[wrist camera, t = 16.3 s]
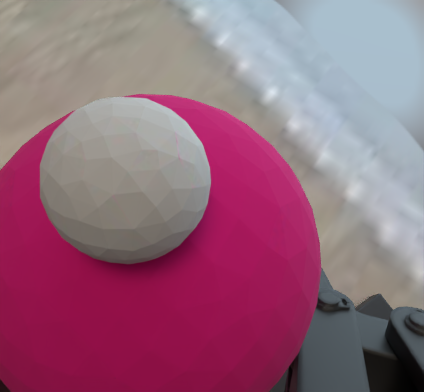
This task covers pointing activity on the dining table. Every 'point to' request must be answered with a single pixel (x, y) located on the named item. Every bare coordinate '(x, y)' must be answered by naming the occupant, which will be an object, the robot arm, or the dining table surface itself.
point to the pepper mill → (152, 253)
